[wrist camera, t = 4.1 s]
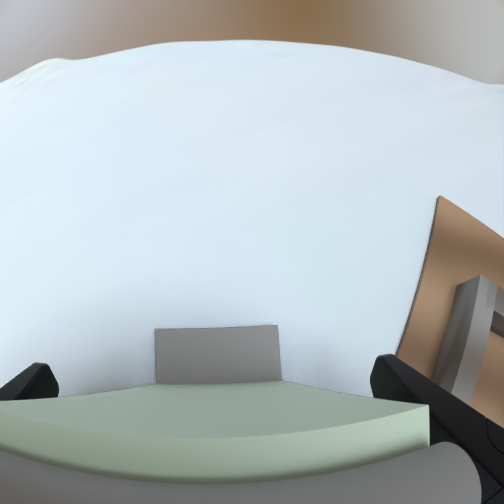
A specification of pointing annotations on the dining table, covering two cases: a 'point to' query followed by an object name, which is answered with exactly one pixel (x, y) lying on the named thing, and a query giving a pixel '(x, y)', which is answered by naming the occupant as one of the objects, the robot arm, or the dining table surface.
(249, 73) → the dining table surface
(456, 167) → the dining table surface
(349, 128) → the dining table surface
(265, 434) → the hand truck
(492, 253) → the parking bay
